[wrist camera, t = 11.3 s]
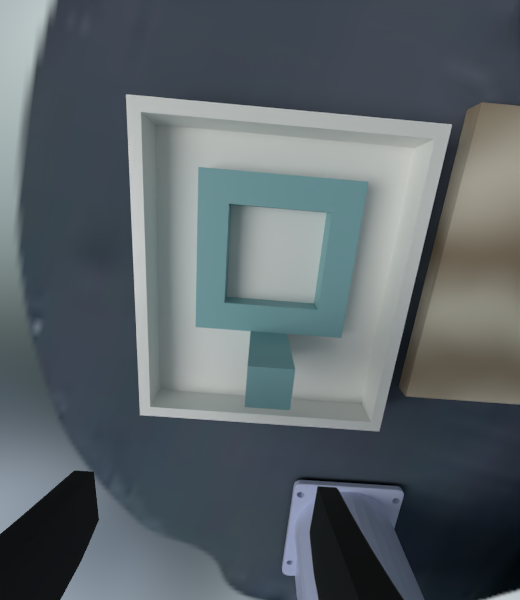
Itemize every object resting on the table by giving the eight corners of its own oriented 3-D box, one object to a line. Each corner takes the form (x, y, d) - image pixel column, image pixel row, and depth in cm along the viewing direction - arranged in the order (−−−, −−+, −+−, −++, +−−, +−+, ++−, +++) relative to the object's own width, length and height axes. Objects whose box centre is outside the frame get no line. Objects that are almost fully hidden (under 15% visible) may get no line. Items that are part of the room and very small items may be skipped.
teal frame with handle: (330, 360, 17) (357, 414, 12) (199, 350, 17) (175, 402, 12) (359, 184, 15) (408, 168, 10) (203, 171, 14) (174, 147, 10)
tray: (364, 404, 19) (379, 431, 17) (155, 389, 19) (139, 415, 16) (420, 139, 15) (452, 124, 12) (148, 114, 14) (125, 94, 12)
